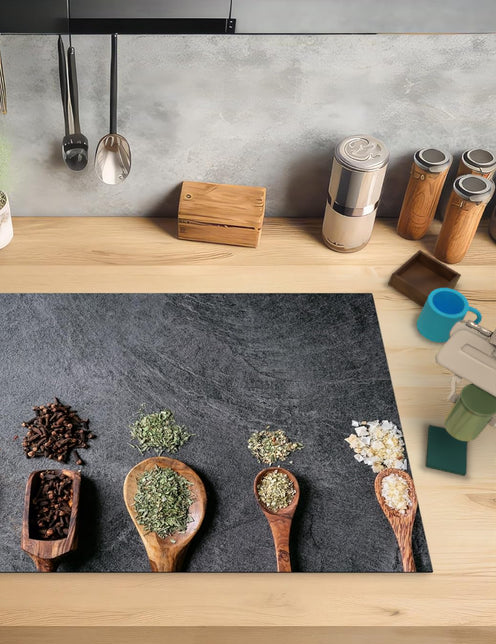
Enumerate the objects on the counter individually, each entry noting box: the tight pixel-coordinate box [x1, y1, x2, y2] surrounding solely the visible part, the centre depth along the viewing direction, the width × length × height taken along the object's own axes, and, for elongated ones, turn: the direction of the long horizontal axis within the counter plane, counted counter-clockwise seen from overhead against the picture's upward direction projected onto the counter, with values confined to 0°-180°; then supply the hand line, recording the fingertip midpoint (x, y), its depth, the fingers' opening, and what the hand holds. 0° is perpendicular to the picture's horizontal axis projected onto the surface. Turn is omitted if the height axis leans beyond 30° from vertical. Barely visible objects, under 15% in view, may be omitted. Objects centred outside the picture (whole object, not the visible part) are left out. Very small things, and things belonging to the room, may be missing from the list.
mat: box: [425, 424, 468, 477], centre depth 139 cm, size 9×7×1 cm
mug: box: [415, 288, 483, 343], centre depth 154 cm, size 12×8×8 cm
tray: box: [387, 249, 462, 308], centre depth 163 cm, size 11×11×4 cm
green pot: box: [443, 383, 496, 442], centre depth 128 cm, size 6×6×9 cm
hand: (470, 413), depth 128 cm, fingers closed on green pot, 6 cm apart
